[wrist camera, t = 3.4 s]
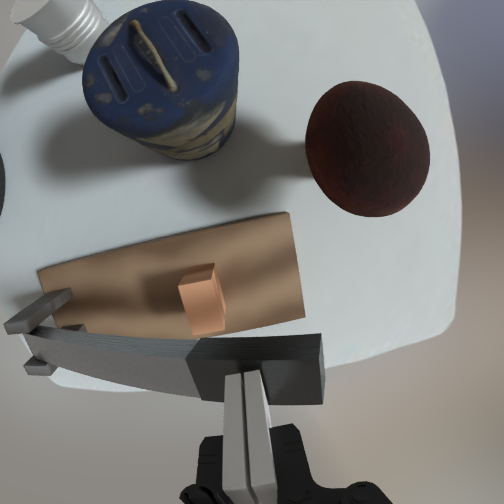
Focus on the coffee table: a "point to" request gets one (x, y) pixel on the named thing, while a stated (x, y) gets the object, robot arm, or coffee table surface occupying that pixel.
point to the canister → (166, 78)
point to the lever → (190, 362)
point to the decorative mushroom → (366, 149)
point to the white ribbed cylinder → (62, 24)
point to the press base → (175, 286)
